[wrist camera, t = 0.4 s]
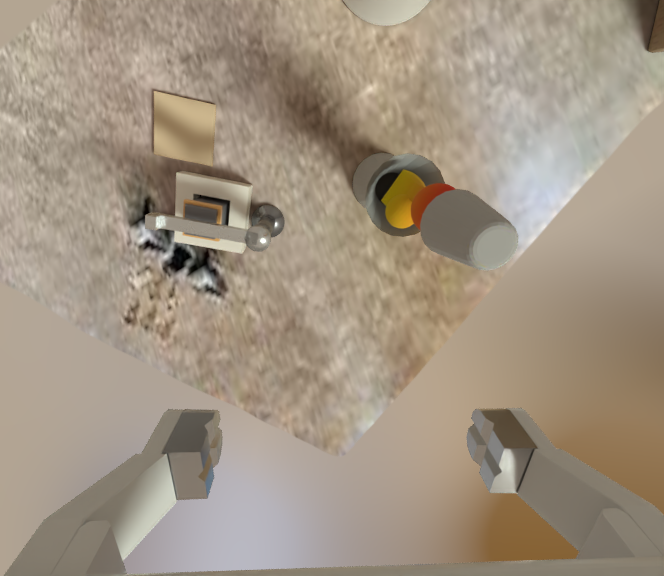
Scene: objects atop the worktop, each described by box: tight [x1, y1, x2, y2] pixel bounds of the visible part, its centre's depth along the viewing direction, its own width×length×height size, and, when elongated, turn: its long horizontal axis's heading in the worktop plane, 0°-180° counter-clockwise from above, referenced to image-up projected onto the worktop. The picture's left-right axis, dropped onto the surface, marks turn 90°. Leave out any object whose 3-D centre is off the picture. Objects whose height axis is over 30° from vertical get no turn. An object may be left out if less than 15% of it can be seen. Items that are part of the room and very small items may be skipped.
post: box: [252, 205, 284, 237], centre depth 48 cm, size 5×5×10 cm
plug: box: [183, 196, 230, 242], centre depth 48 cm, size 5×5×8 cm
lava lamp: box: [352, 153, 518, 270], centre depth 35 cm, size 9×9×35 cm
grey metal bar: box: [145, 212, 271, 251], centre depth 41 cm, size 15×3×2 cm, turn 79°
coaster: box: [154, 91, 216, 166], centre depth 47 cm, size 8×8×1 cm
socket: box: [175, 171, 253, 253], centre depth 50 cm, size 10×10×3 cm
